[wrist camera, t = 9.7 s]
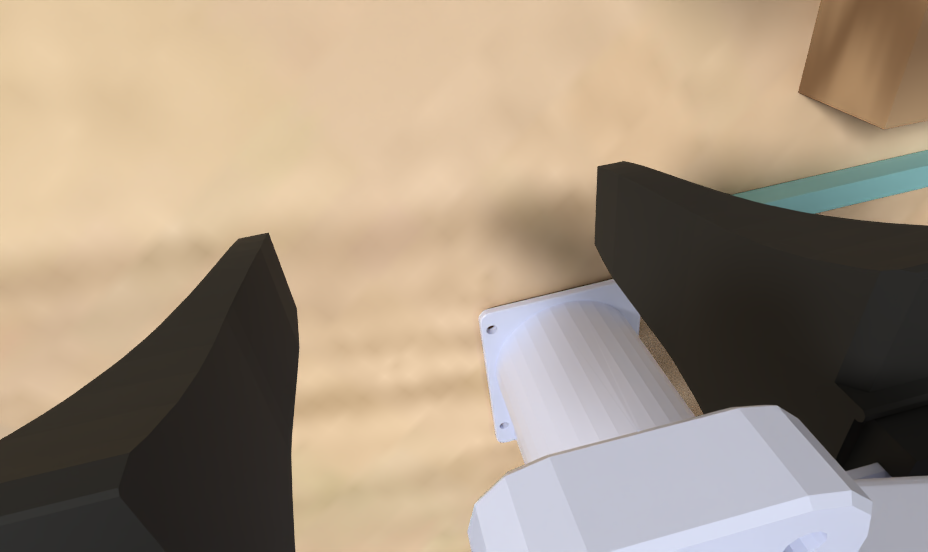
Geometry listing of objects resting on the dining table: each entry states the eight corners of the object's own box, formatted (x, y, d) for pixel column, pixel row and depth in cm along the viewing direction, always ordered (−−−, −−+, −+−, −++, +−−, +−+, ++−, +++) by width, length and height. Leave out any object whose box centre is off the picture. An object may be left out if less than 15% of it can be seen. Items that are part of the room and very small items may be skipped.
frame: (971, 160, 27) (994, 170, 26) (669, 231, 26) (682, 244, 25) (1185, -317, 18) (1234, -329, 17) (721, -250, 16) (747, -258, 15)
